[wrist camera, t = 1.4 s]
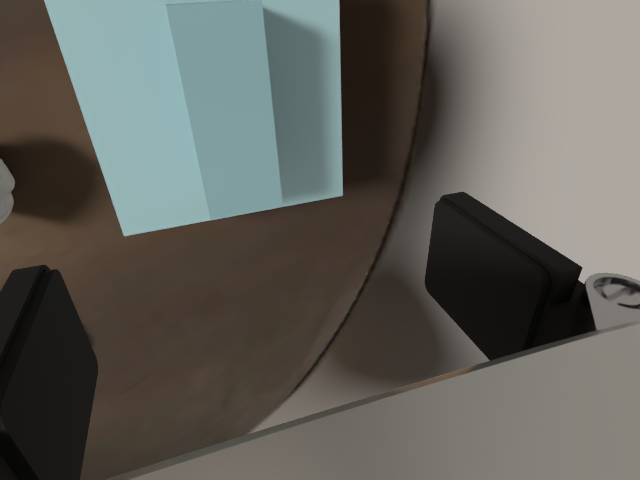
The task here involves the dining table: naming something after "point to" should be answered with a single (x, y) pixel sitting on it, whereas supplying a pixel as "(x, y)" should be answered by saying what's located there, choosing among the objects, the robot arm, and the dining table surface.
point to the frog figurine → (5, 191)
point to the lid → (207, 103)
